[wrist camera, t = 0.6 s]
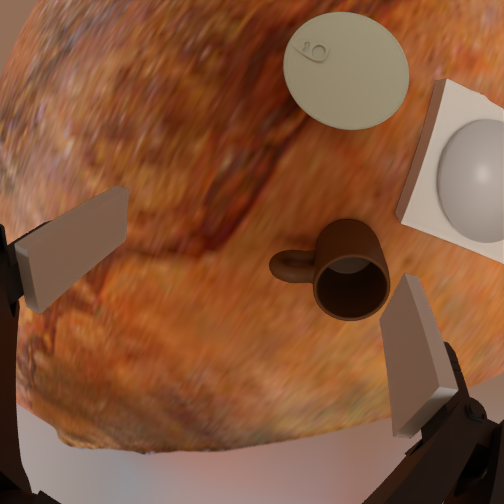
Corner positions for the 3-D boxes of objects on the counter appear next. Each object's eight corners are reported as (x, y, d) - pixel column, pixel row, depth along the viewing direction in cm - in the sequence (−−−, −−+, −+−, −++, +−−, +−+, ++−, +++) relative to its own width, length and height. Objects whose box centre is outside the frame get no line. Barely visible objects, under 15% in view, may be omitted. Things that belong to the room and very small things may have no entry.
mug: (275, 264, 40) (260, 308, 32) (282, 205, 37) (269, 237, 28) (370, 280, 38) (378, 328, 30) (385, 223, 35) (402, 260, 27)
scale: (436, 76, 26) (453, 73, 22) (539, 136, 25) (562, 143, 20) (394, 212, 34) (404, 229, 29) (496, 253, 33) (513, 272, 28)
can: (318, 27, 27) (314, -11, 17) (396, 68, 27) (431, 51, 17) (281, 98, 31) (259, 94, 21) (358, 139, 32) (376, 155, 21)
